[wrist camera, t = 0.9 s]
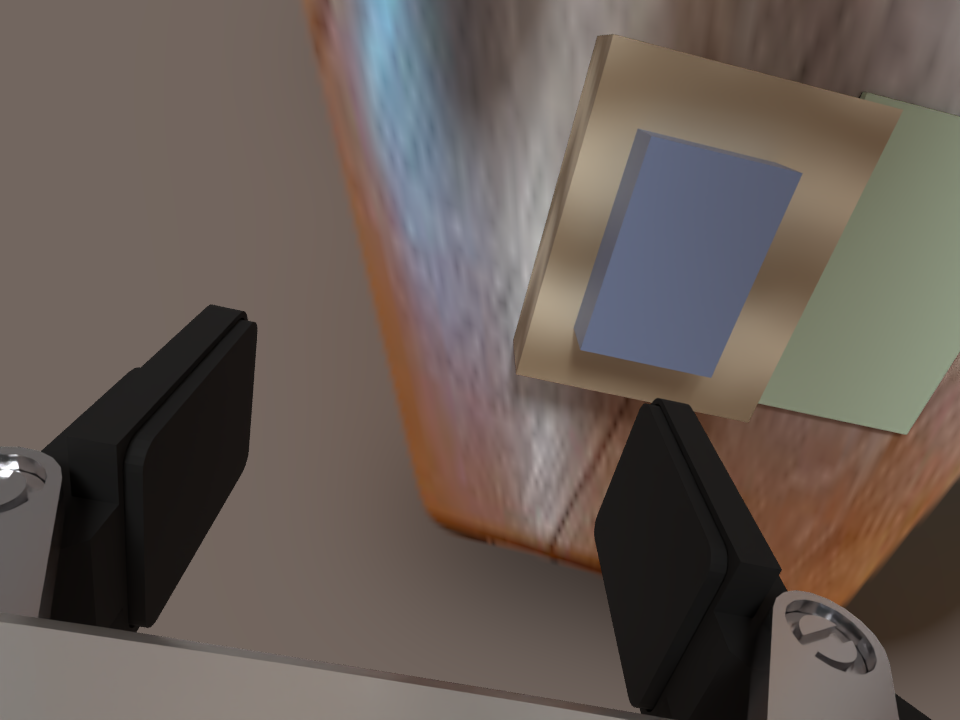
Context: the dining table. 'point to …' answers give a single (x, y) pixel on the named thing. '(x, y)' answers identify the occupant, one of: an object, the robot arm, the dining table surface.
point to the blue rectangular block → (681, 252)
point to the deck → (717, 123)
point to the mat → (885, 288)
